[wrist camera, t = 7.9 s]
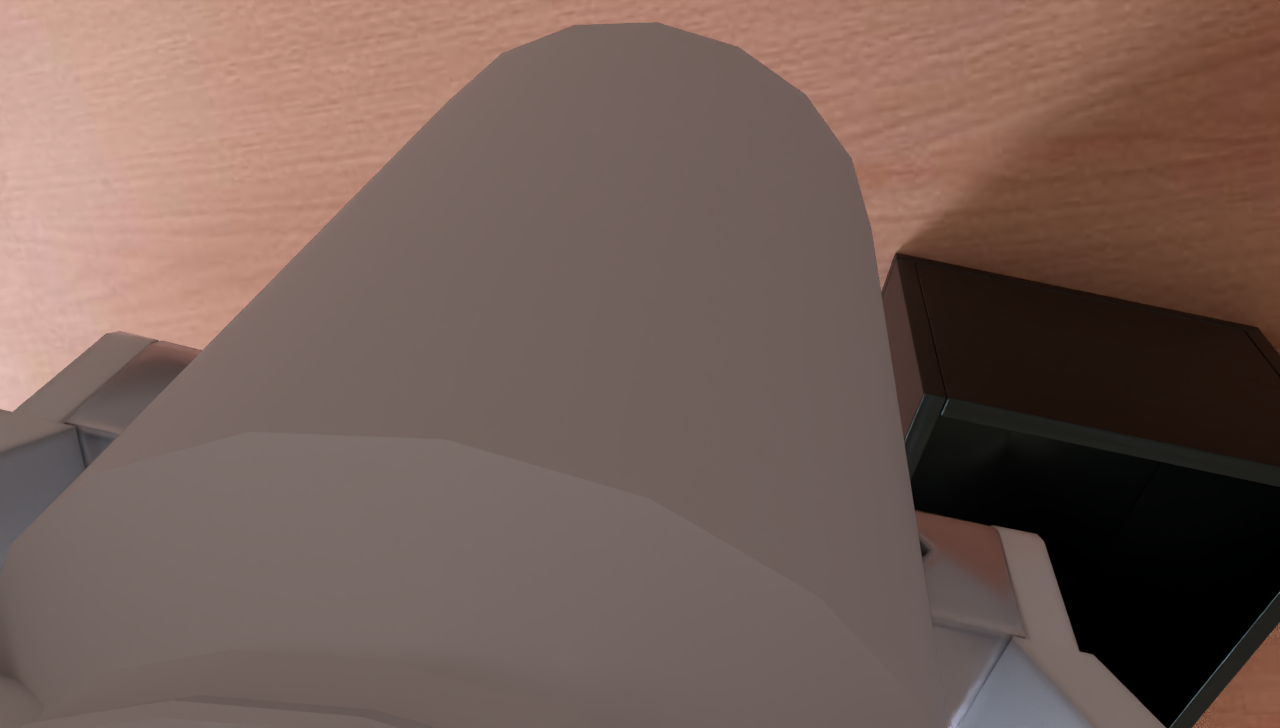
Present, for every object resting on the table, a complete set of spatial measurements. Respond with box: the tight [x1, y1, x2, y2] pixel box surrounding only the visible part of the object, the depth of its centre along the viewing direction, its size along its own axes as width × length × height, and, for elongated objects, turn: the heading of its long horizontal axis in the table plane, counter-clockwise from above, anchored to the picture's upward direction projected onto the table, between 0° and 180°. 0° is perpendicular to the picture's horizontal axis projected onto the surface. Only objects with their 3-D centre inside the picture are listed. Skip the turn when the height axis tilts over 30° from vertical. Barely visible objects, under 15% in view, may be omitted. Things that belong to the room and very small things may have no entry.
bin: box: [881, 253, 1280, 728], centre depth 40 cm, size 16×16×10 cm
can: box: [0, 22, 948, 728], centre depth 11 cm, size 8×8×12 cm
